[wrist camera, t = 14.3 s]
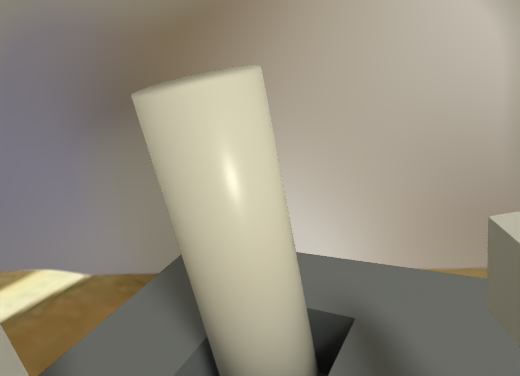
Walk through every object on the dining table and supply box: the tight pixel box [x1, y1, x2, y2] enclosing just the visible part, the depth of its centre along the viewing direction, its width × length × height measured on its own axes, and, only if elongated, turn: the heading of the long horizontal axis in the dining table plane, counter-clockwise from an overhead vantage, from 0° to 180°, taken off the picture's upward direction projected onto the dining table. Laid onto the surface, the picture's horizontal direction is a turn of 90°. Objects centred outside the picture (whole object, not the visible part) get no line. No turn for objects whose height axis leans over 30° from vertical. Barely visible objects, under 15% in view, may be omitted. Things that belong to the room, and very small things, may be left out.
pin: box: [131, 65, 319, 376], centre depth 15 cm, size 4×4×15 cm
